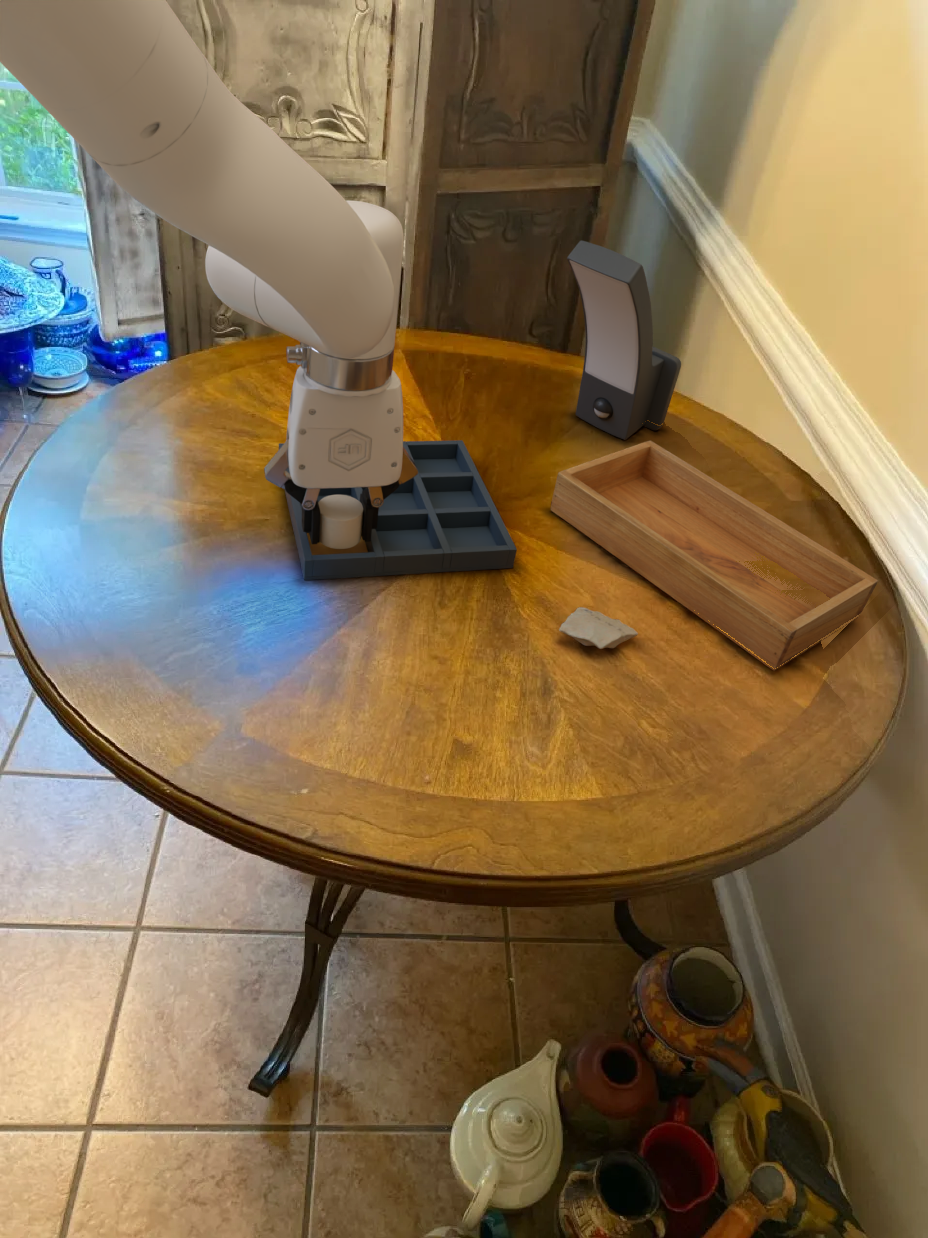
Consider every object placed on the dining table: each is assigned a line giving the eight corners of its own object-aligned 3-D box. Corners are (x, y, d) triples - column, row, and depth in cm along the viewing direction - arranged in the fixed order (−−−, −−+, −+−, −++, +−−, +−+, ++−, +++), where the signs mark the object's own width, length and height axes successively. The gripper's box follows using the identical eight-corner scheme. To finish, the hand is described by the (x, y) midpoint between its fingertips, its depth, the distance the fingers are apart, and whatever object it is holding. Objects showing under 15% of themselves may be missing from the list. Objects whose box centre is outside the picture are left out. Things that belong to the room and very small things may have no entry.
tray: (548, 511, 102) (558, 468, 98) (638, 478, 110) (651, 436, 107) (769, 677, 86) (791, 633, 82) (855, 623, 94) (879, 580, 90)
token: (319, 550, 87) (320, 521, 85) (313, 523, 91) (314, 494, 88) (365, 548, 89) (367, 519, 87) (357, 521, 92) (359, 493, 90)
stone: (581, 611, 90) (547, 639, 86) (586, 592, 88) (552, 620, 84) (636, 641, 87) (605, 671, 83) (642, 622, 86) (610, 652, 82)
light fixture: (519, 435, 114) (558, 237, 99) (596, 396, 125) (642, 213, 110) (590, 472, 110) (643, 271, 94) (663, 429, 121) (721, 242, 105)
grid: (304, 580, 87) (304, 560, 86) (278, 461, 102) (278, 443, 101) (513, 568, 93) (517, 549, 92) (459, 457, 108) (462, 439, 107)
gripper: (251, 381, 73) (254, 563, 85) (454, 381, 77) (431, 553, 89) (243, 339, 78) (247, 516, 90) (433, 342, 83) (414, 509, 95)
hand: (339, 532), depth 89 cm, fingers closed on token, 4 cm apart
